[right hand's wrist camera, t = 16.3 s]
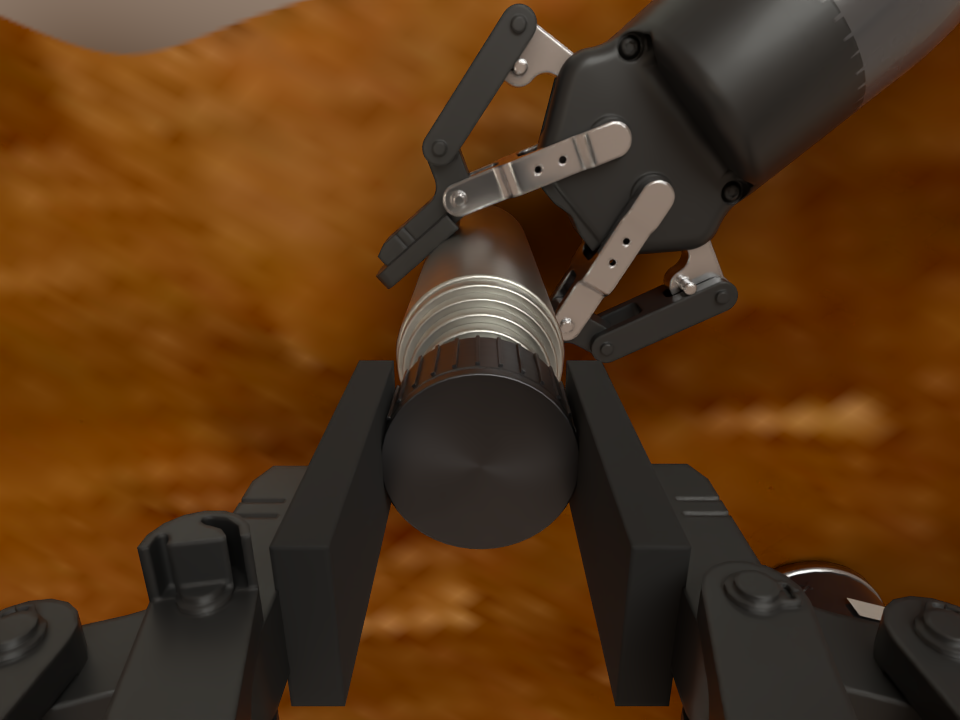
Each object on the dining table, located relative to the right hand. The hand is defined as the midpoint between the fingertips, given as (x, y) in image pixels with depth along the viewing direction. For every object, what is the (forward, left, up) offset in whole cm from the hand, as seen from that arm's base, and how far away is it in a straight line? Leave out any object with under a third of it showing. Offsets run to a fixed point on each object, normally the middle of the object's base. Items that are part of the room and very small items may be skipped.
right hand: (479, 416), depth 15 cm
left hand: (-1, -2, -12) cm, 12 cm away
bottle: (0, 0, -18) cm, 18 cm away
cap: (0, 0, +2) cm, 2 cm away
